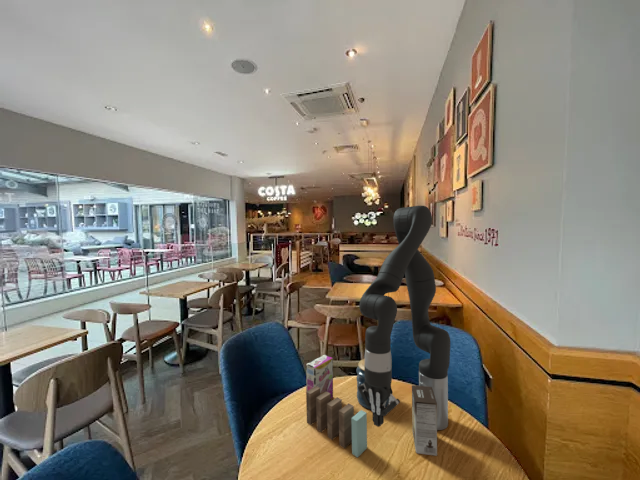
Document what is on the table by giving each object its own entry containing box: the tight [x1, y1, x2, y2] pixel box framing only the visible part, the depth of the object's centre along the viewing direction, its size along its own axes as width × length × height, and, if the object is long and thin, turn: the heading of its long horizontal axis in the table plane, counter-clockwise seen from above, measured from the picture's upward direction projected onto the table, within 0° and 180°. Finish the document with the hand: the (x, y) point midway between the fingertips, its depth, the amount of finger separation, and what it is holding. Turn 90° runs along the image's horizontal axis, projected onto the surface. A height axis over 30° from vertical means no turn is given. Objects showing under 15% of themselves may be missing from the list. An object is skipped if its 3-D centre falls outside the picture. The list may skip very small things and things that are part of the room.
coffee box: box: [411, 384, 438, 457], centre depth 86 cm, size 9×6×16 cm
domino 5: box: [351, 409, 368, 458], centre depth 83 cm, size 2×5×11 cm, turn 136°
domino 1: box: [305, 386, 320, 426], centre depth 97 cm, size 2×5×11 cm, turn 135°
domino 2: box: [316, 391, 332, 433], centre depth 94 cm, size 2×5×11 cm, turn 135°
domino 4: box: [338, 403, 355, 449], centre depth 87 cm, size 2×5×11 cm, turn 135°
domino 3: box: [327, 397, 343, 441], centre depth 90 cm, size 2×5×11 cm, turn 136°
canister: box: [356, 358, 389, 410], centre depth 108 cm, size 13×13×18 cm
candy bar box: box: [305, 354, 334, 399], centre depth 108 cm, size 11×5×16 cm, turn 139°
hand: (378, 424), depth 78 cm, fingers closed
